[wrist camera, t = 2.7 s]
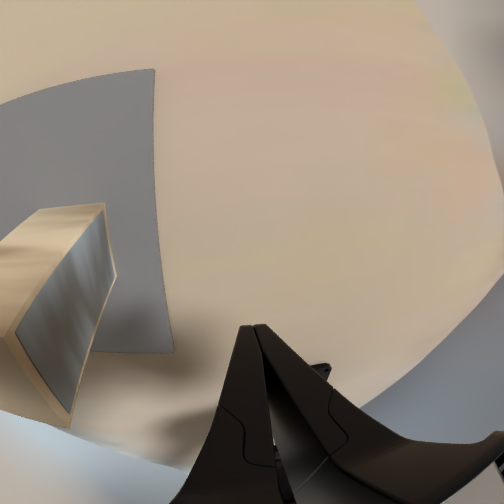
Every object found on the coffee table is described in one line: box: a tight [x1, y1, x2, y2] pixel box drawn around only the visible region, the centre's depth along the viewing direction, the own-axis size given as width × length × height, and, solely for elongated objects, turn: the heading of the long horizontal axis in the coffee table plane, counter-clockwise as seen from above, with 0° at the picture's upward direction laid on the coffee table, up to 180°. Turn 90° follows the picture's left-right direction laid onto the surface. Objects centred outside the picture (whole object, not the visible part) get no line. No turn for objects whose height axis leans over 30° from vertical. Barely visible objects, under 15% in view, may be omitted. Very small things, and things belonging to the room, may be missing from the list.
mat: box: [0, 69, 174, 353], centre depth 13 cm, size 18×20×1 cm
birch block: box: [0, 203, 117, 428], centre depth 9 cm, size 4×5×10 cm
